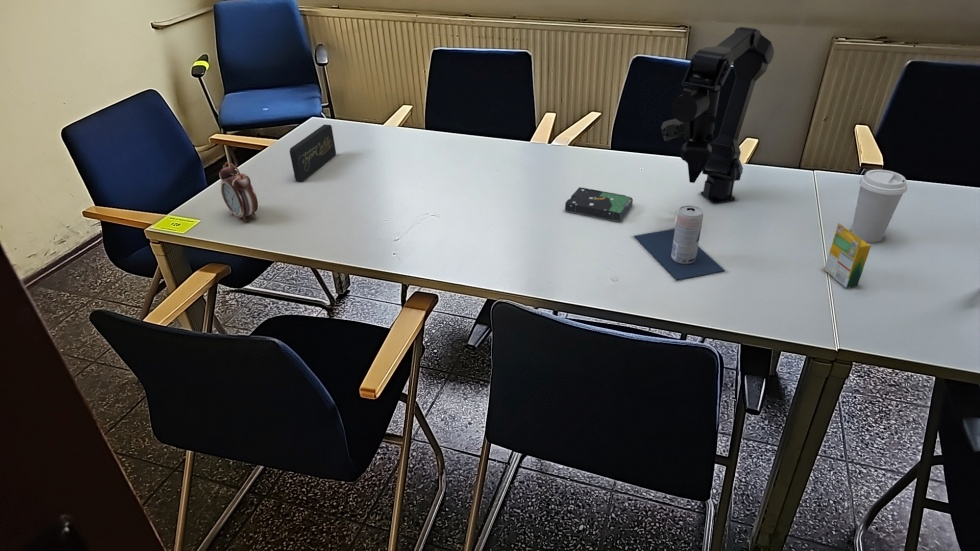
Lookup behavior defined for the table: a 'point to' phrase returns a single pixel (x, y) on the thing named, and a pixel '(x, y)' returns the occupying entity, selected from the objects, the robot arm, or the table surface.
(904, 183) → the coffee cup
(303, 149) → the nameplate
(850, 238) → the crayon box
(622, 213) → the disk drive
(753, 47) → the robot arm
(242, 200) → the alarm clock
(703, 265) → the mat
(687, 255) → the energy drink
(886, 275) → the table surface
